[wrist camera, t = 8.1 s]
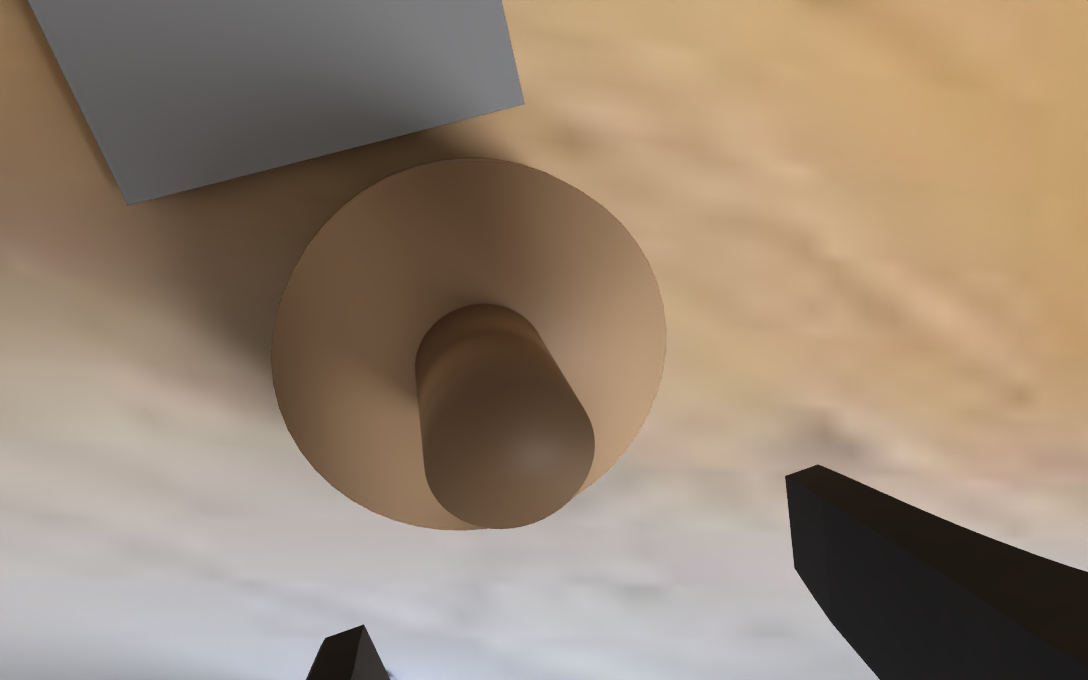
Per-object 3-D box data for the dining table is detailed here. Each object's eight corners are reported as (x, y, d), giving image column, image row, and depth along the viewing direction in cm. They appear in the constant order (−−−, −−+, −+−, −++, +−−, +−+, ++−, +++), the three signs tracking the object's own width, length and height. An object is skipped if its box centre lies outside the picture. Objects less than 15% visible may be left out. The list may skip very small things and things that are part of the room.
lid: (362, 547, 17) (352, 720, 13) (209, 226, 14) (116, 300, 9) (674, 437, 18) (774, 560, 14) (608, 108, 15) (713, 120, 10)
